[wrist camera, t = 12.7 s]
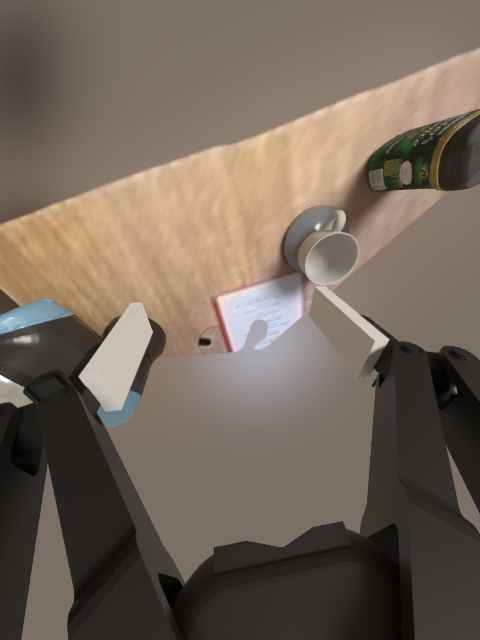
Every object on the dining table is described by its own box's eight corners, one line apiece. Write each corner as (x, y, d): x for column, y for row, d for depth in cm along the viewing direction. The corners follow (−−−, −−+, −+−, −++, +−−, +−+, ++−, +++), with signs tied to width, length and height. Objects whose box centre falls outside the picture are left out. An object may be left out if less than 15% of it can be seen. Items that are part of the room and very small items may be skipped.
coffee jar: (414, 122, 35) (575, 67, 19) (414, 170, 39) (545, 156, 24) (362, 155, 36) (472, 129, 21) (367, 198, 41) (462, 201, 25)
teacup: (325, 276, 48) (343, 289, 42) (285, 270, 46) (298, 283, 39) (352, 214, 41) (380, 218, 34) (307, 203, 38) (327, 206, 32)
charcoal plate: (280, 274, 48) (282, 276, 47) (286, 207, 40) (289, 208, 39) (335, 270, 49) (338, 272, 48) (352, 204, 41) (356, 204, 40)
